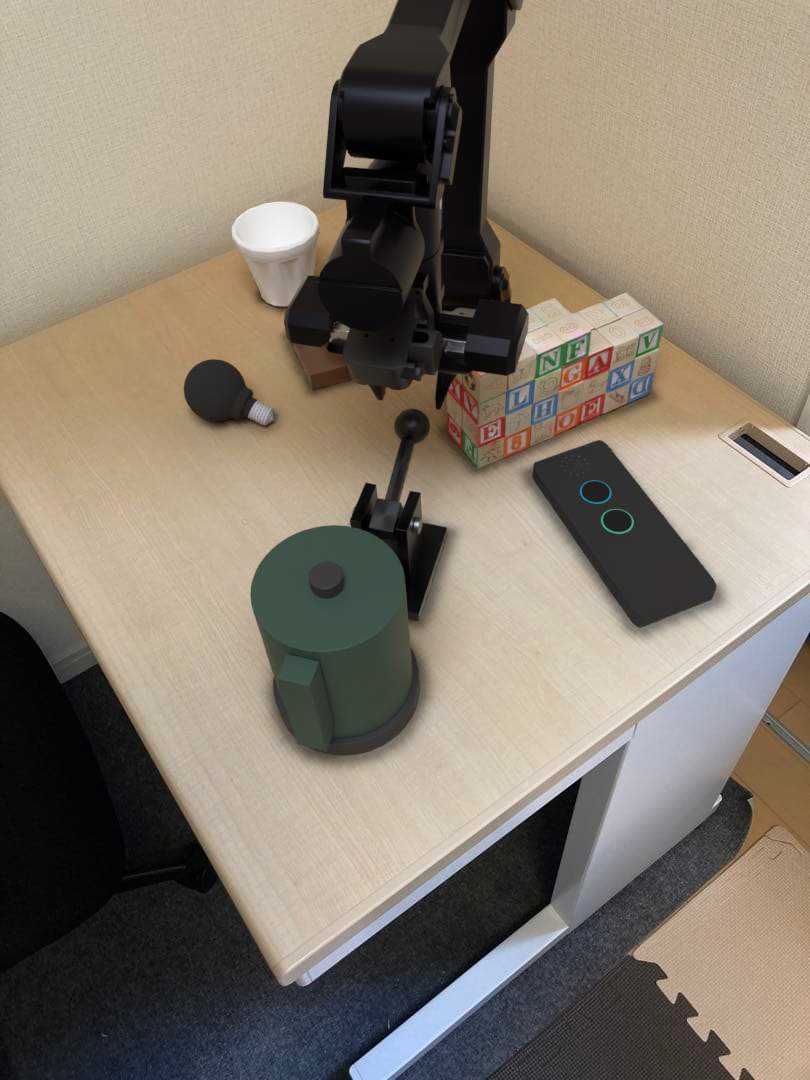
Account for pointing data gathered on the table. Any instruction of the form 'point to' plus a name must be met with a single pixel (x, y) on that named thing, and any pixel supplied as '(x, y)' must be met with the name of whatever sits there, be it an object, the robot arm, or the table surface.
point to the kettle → (337, 638)
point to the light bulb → (222, 394)
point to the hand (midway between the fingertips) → (410, 402)
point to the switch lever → (399, 472)
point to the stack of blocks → (556, 378)
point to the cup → (278, 247)
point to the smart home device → (623, 533)
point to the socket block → (322, 366)
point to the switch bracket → (407, 544)
